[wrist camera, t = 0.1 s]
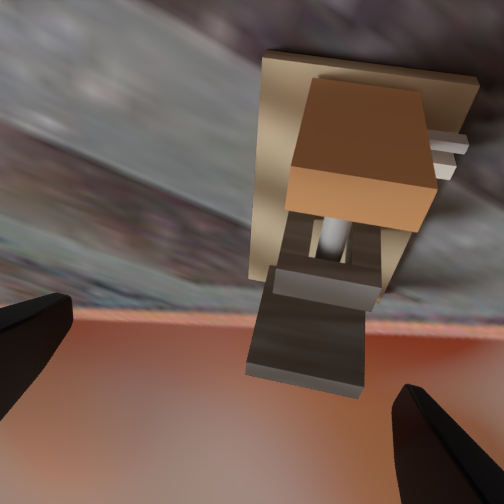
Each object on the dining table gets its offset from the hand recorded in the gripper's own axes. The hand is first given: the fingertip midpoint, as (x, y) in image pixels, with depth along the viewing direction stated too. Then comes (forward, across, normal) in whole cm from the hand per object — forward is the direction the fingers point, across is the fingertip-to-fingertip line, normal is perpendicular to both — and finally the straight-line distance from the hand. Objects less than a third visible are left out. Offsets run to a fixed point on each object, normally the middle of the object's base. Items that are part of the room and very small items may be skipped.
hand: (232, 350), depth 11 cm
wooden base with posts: (+16, +3, -2) cm, 17 cm away
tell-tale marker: (+14, +7, +3) cm, 15 cm away
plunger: (+14, +4, +1) cm, 15 cm away
